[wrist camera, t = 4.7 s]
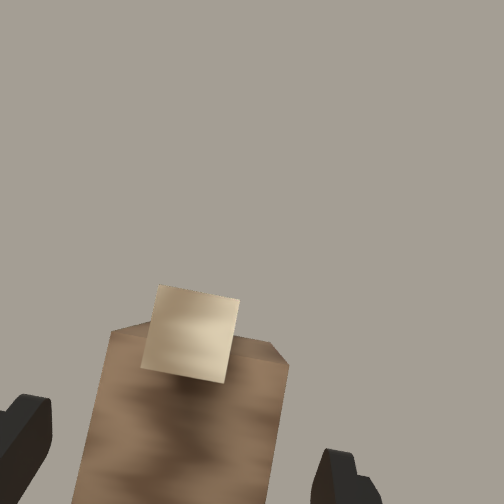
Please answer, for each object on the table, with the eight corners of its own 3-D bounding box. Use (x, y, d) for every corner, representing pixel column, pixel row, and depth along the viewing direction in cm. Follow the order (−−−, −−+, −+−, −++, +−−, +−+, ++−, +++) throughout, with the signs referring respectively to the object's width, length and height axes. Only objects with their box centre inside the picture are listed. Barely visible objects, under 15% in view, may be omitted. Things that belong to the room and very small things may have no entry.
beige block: (140, 367, 14) (158, 283, 14) (195, 328, 34) (202, 293, 34) (223, 383, 14) (240, 299, 14) (229, 334, 34) (236, 299, 34)
